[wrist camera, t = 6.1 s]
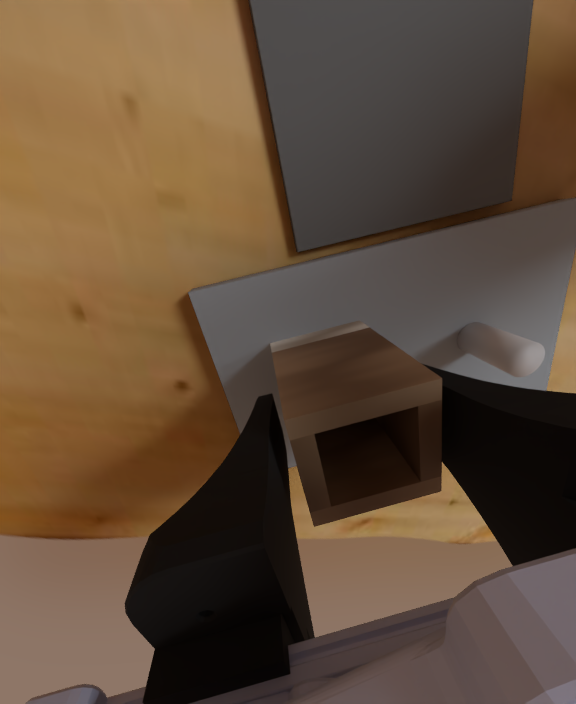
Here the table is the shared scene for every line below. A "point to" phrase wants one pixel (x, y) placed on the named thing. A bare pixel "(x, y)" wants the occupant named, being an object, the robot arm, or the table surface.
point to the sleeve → (358, 420)
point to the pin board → (407, 303)
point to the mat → (391, 108)
